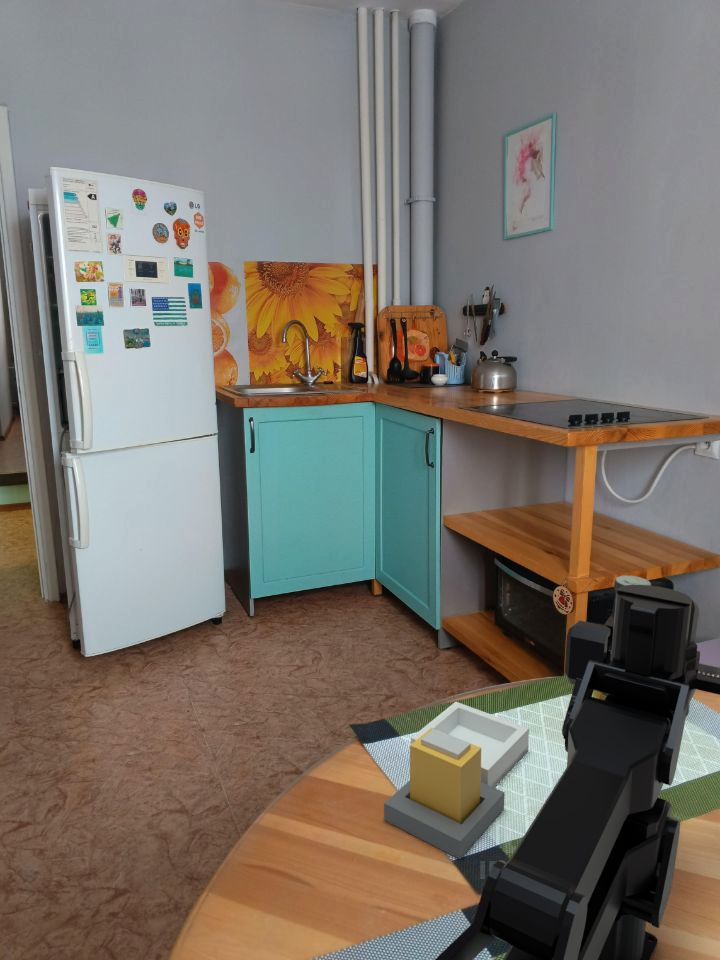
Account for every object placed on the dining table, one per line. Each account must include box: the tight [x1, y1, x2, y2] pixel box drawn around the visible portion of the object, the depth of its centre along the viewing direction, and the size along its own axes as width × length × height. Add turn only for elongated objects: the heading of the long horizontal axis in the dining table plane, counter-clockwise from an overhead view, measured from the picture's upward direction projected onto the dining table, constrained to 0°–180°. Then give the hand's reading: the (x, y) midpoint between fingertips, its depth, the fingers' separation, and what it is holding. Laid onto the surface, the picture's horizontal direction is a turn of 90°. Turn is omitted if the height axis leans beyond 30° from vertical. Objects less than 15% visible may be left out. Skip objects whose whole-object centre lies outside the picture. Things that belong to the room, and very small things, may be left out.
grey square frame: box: [383, 780, 506, 860], centre depth 74 cm, size 9×9×2 cm
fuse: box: [409, 728, 481, 824], centre depth 73 cm, size 4×6×9 cm, turn 52°
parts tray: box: [410, 701, 530, 788], centre depth 84 cm, size 10×10×3 cm
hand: (682, 647), depth 75 cm, fingers open, 9 cm apart
